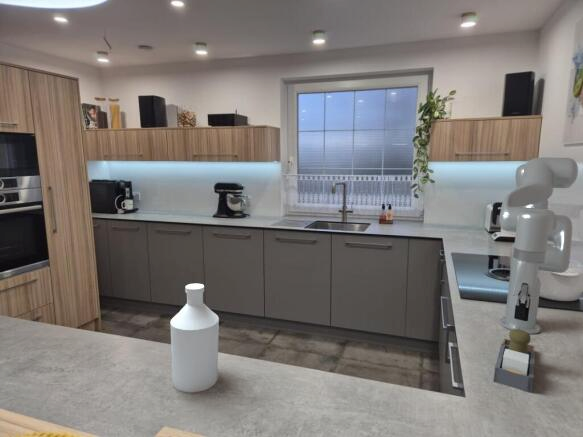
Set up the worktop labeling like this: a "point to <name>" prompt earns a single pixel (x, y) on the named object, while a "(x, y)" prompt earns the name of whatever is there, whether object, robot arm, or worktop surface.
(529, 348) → the wooden square frame
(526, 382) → the grey divided tray
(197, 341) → the bottle
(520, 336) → the cork
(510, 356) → the white block
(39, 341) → the worktop surface
